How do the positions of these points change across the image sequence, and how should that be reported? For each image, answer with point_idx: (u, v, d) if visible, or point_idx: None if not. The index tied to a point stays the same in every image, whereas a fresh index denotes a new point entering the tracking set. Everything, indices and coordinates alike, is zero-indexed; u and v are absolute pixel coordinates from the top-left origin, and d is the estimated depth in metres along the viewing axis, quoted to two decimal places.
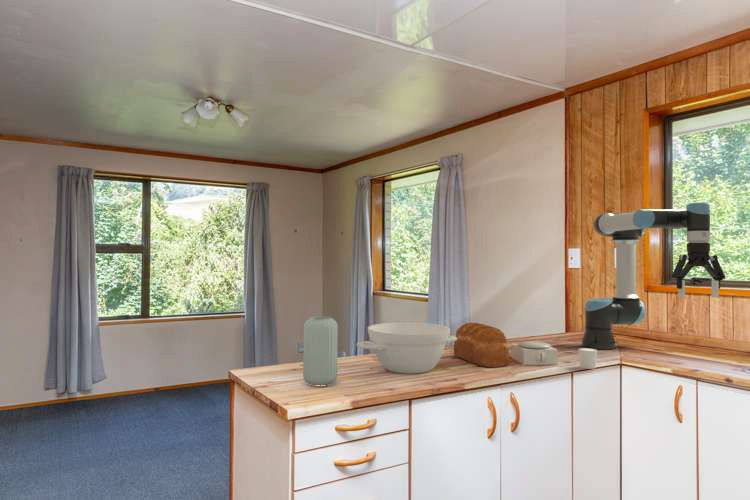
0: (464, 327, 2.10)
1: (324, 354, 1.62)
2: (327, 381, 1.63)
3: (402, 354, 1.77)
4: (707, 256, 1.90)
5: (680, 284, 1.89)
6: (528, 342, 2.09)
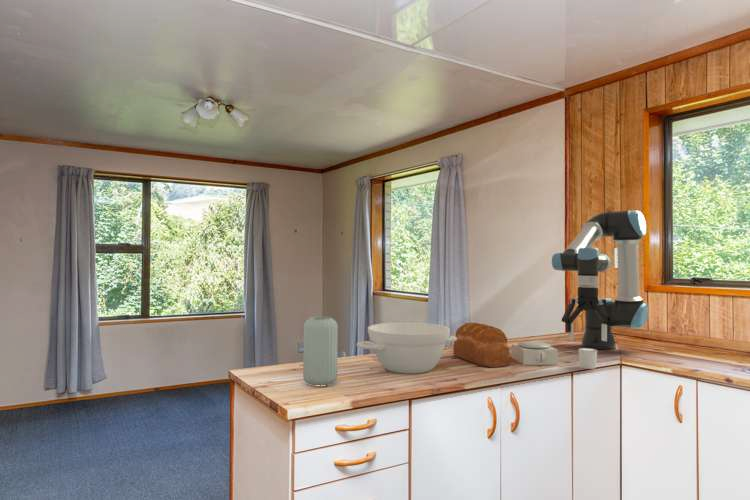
0: (464, 327, 2.09)
1: (324, 354, 1.62)
2: (327, 381, 1.63)
3: (402, 354, 1.77)
4: (596, 300, 1.94)
5: (569, 328, 1.93)
6: (528, 342, 2.09)
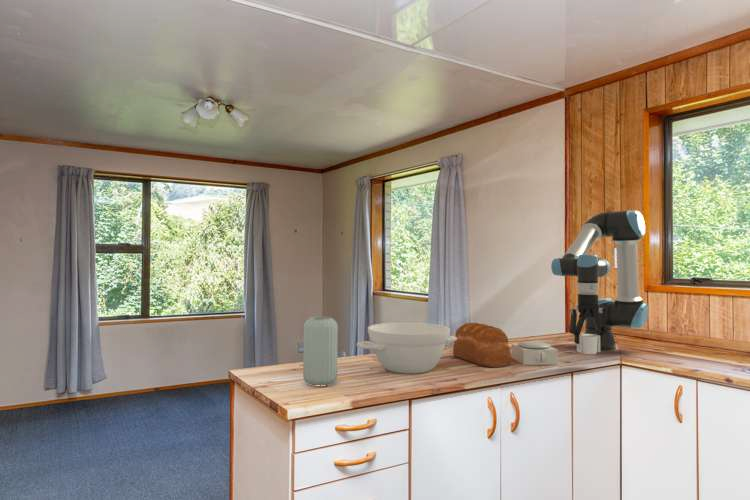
0: (464, 327, 2.09)
1: (324, 354, 1.62)
2: (327, 381, 1.63)
3: (402, 354, 1.77)
4: (596, 307, 1.94)
5: (577, 339, 1.94)
6: (528, 342, 2.09)
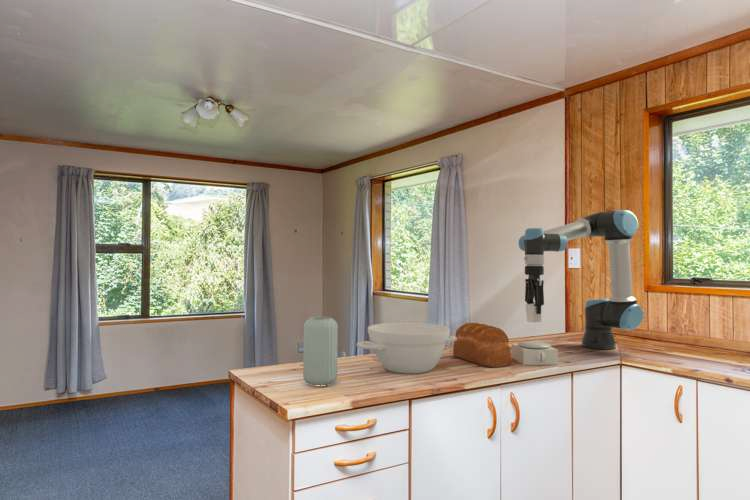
0: (464, 327, 2.09)
1: (324, 354, 1.62)
2: (327, 381, 1.63)
3: (402, 354, 1.77)
4: (534, 278, 2.02)
5: None
6: (528, 342, 2.09)
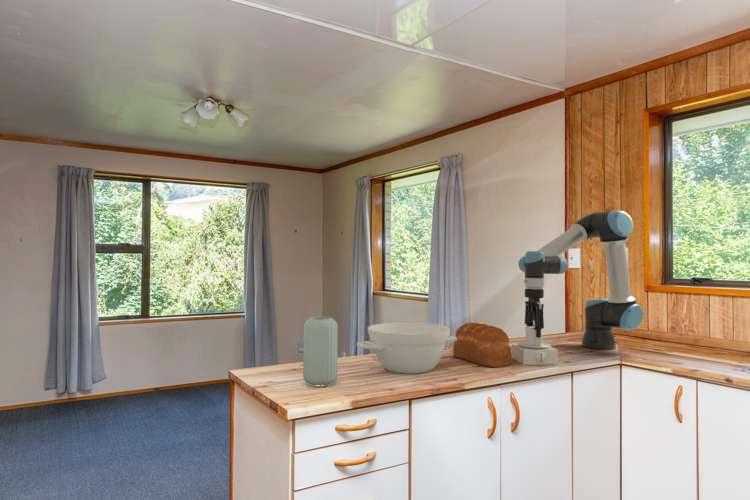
0: (464, 327, 2.09)
1: (324, 354, 1.62)
2: (327, 381, 1.63)
3: (402, 354, 1.77)
4: (534, 301, 2.02)
5: None
6: None
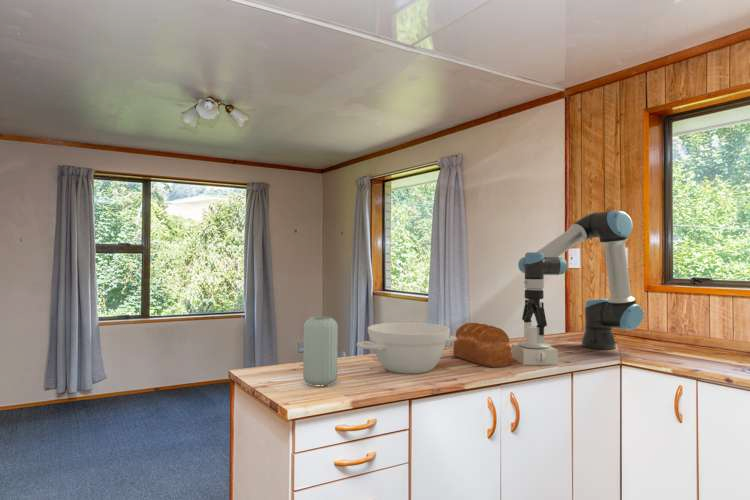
0: (465, 327, 2.09)
1: (324, 354, 1.62)
2: (327, 381, 1.63)
3: (402, 354, 1.77)
4: (534, 303, 2.02)
5: None
6: None
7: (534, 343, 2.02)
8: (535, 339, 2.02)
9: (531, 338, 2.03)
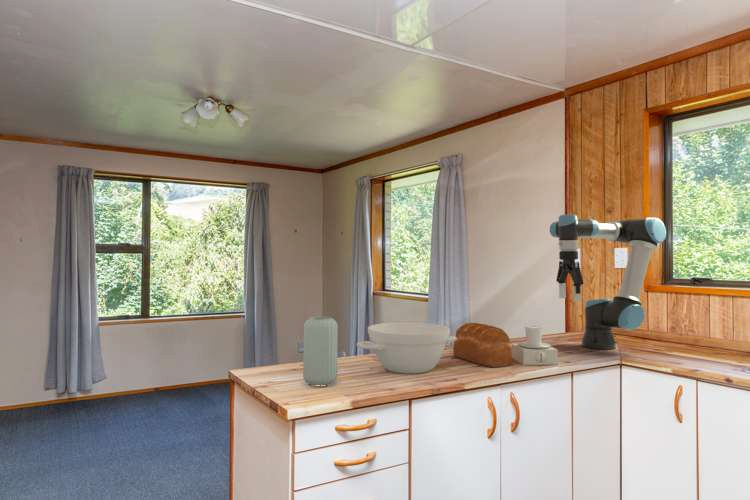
0: (465, 327, 2.09)
1: (324, 354, 1.62)
2: (327, 381, 1.63)
3: (402, 354, 1.77)
4: (569, 263, 2.10)
5: None
6: None
7: (534, 343, 2.02)
8: (535, 339, 2.02)
9: (531, 338, 2.03)
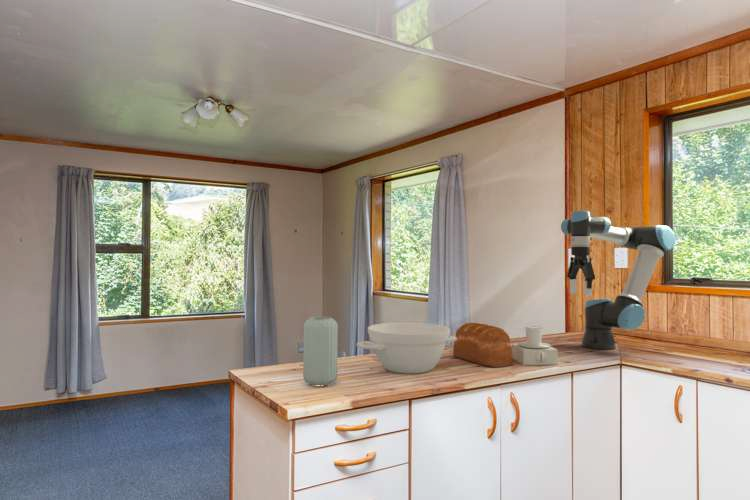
0: (465, 327, 2.09)
1: (324, 354, 1.62)
2: (327, 381, 1.63)
3: (402, 354, 1.77)
4: (581, 258, 2.12)
5: None
6: None
7: (534, 343, 2.02)
8: (535, 339, 2.02)
9: (531, 338, 2.03)
